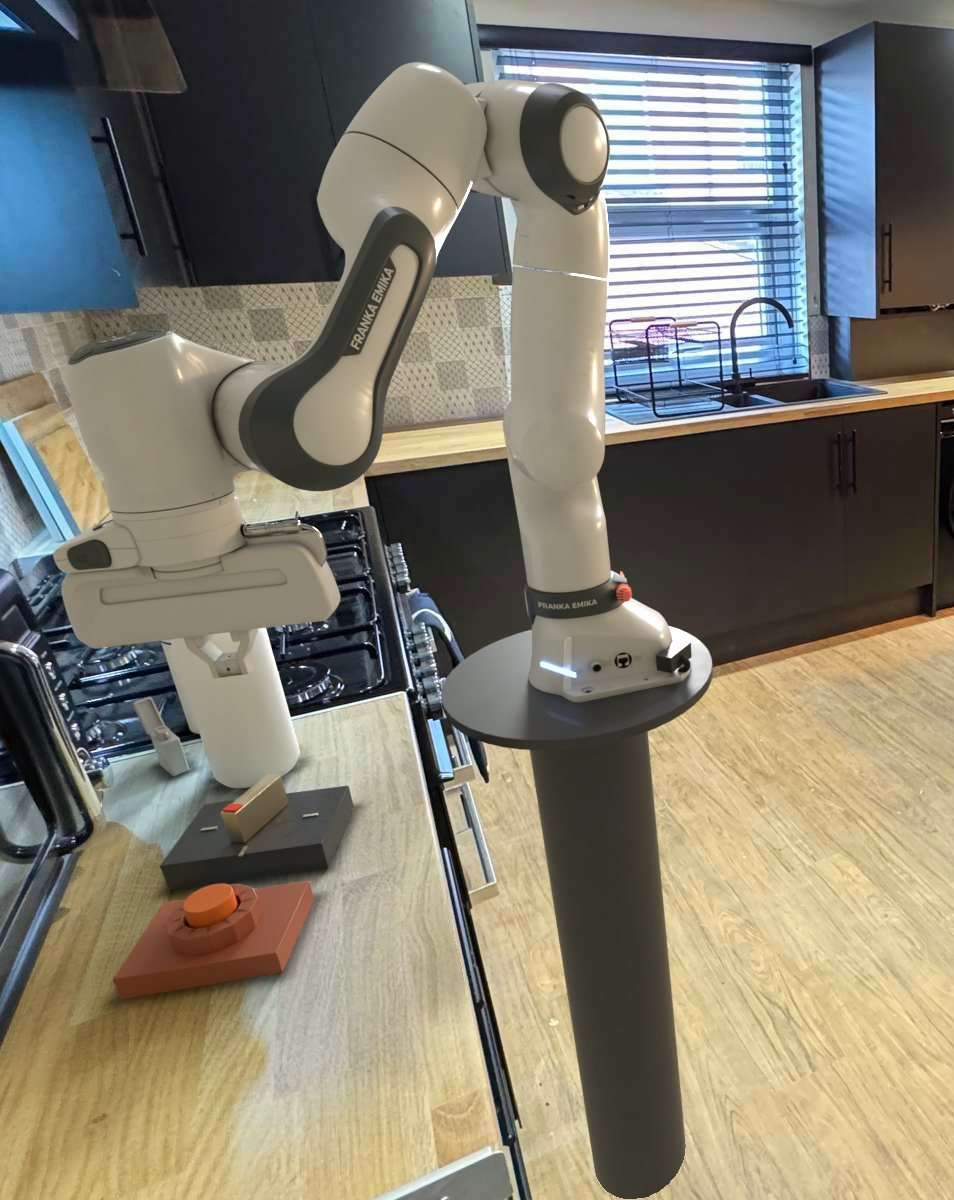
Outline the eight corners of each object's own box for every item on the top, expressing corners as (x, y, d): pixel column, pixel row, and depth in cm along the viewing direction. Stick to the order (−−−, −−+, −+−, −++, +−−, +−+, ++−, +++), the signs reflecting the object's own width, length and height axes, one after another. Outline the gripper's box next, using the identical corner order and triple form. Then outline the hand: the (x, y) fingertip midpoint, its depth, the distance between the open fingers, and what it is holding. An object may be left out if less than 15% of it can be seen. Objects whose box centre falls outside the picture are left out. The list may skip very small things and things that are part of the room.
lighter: (190, 769, 99) (170, 710, 96) (173, 776, 98) (152, 716, 95) (167, 750, 103) (147, 693, 100) (150, 756, 102) (130, 698, 99)
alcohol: (215, 800, 94) (130, 544, 82) (215, 763, 101) (137, 522, 89) (304, 774, 98) (236, 529, 87) (299, 741, 105) (235, 509, 94)
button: (244, 896, 74) (239, 880, 74) (228, 925, 71) (222, 908, 70) (198, 902, 74) (193, 886, 73) (180, 932, 70) (174, 916, 70)
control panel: (355, 806, 92) (349, 782, 91) (327, 870, 83) (320, 844, 82) (213, 825, 90) (205, 800, 88) (167, 893, 80) (157, 866, 79)
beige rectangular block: (274, 802, 88) (266, 772, 87) (289, 803, 88) (280, 773, 86) (229, 842, 82) (219, 810, 81) (245, 843, 82) (234, 811, 81)
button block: (314, 899, 79) (304, 865, 77) (282, 972, 71) (270, 936, 69) (171, 921, 77) (157, 886, 75) (120, 999, 68) (104, 962, 67)
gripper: (327, 507, 77) (364, 643, 82) (71, 532, 73) (128, 674, 78) (306, 528, 71) (348, 672, 77) (28, 556, 67) (92, 707, 73)
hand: (234, 673), depth 77 cm, fingers closed
